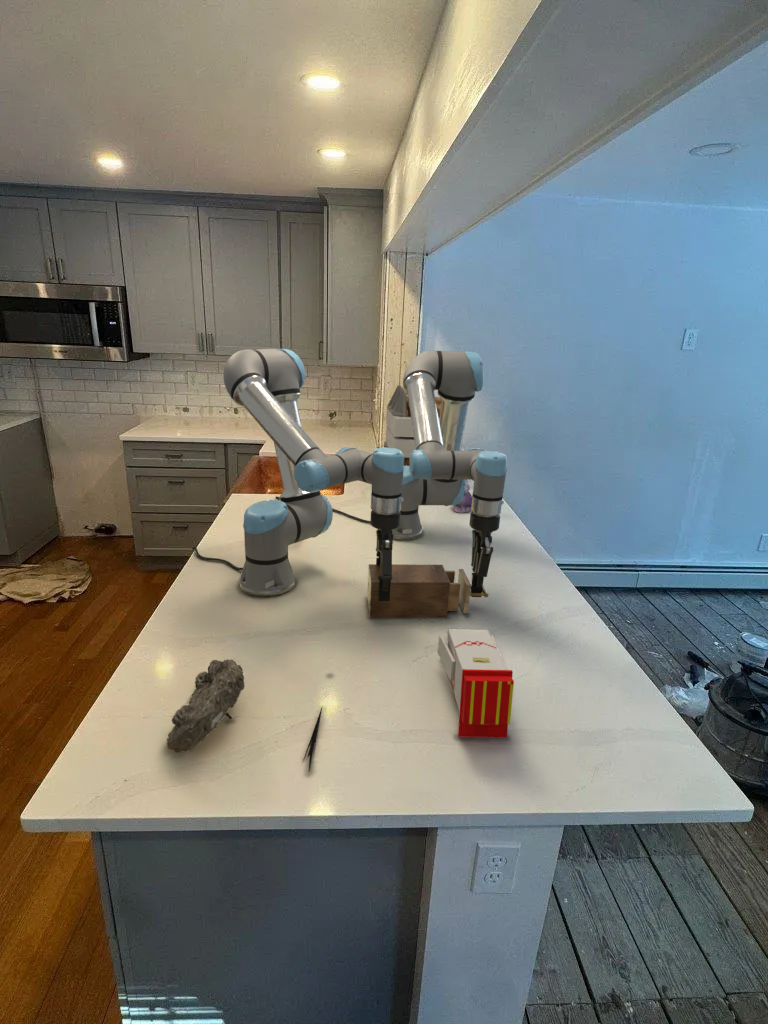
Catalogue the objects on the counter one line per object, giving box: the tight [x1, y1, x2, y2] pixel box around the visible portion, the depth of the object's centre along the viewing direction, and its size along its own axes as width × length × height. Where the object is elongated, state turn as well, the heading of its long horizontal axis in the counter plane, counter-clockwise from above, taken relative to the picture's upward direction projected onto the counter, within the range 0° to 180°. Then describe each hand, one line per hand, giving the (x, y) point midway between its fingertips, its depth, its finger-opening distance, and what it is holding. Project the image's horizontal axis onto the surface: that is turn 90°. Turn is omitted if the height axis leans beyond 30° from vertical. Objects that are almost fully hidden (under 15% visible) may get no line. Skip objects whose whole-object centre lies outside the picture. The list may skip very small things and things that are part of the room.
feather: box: [301, 673, 332, 771], centre depth 108 cm, size 2×28×2 cm
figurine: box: [451, 480, 472, 514], centre depth 225 cm, size 9×10×15 cm
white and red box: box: [437, 628, 515, 738], centre depth 117 cm, size 12×13×30 cm
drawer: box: [445, 568, 489, 614], centre depth 150 cm, size 24×9×8 cm, turn 95°
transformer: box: [383, 384, 464, 466], centre depth 268 cm, size 34×33×41 cm
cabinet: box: [366, 563, 450, 619], centre depth 149 cm, size 20×10×10 cm, turn 95°
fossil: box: [166, 658, 245, 754], centre depth 106 cm, size 22×10×15 cm
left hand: (382, 590), depth 148 cm, fingers closed on cabinet, 10 cm apart
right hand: (475, 595), depth 151 cm, fingers closed
